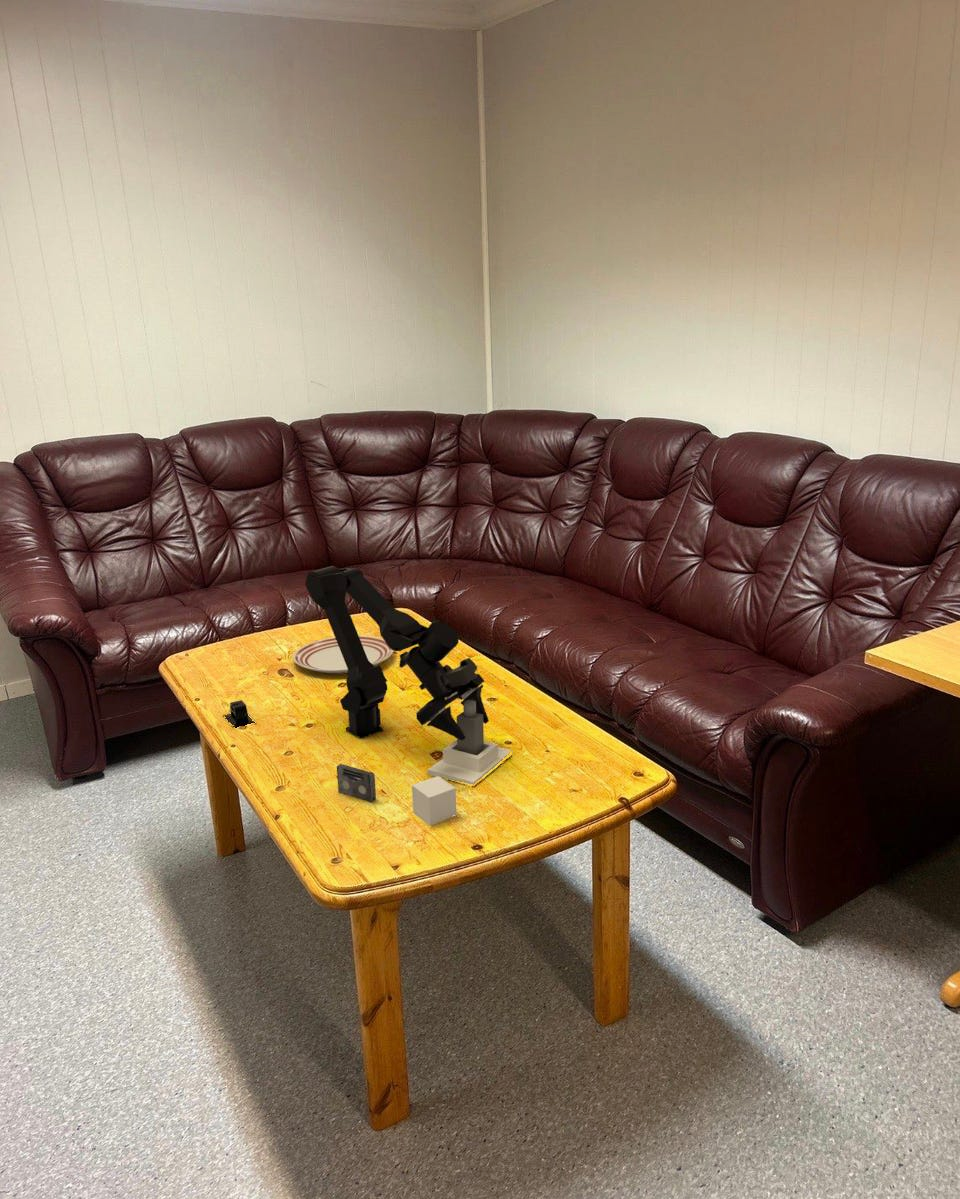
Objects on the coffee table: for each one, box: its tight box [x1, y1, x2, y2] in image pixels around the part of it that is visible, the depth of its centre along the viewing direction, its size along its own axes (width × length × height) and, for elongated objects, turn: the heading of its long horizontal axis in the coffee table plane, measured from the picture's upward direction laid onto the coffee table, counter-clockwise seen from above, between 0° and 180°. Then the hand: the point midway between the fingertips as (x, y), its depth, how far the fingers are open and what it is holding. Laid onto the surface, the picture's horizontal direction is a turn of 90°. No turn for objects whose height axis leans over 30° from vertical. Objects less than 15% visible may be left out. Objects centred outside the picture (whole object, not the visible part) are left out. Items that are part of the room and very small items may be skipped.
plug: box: [456, 700, 485, 755], centre depth 193 cm, size 4×3×13 cm
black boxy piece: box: [222, 699, 256, 728], centre depth 220 cm, size 12×7×5 cm, turn 31°
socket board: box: [427, 739, 512, 785], centre depth 195 cm, size 11×16×4 cm
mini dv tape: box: [336, 763, 377, 803], centre depth 183 cm, size 8×2×6 cm, turn 59°
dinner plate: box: [292, 635, 394, 674], centre depth 255 cm, size 28×27×3 cm
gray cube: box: [411, 776, 458, 827], centre depth 176 cm, size 6×6×6 cm
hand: (475, 730), depth 193 cm, fingers open, 9 cm apart
